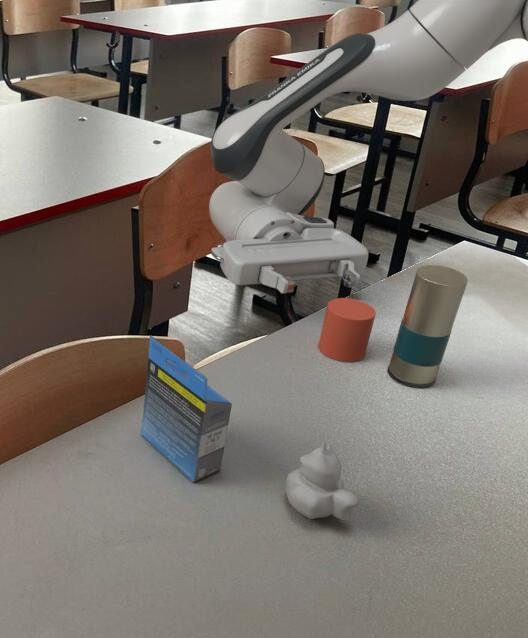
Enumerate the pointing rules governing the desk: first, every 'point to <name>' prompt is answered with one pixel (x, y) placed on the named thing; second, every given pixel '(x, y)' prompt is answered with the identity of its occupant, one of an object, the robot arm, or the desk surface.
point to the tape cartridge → (183, 414)
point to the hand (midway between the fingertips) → (322, 285)
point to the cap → (346, 329)
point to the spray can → (426, 325)
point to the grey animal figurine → (320, 486)
